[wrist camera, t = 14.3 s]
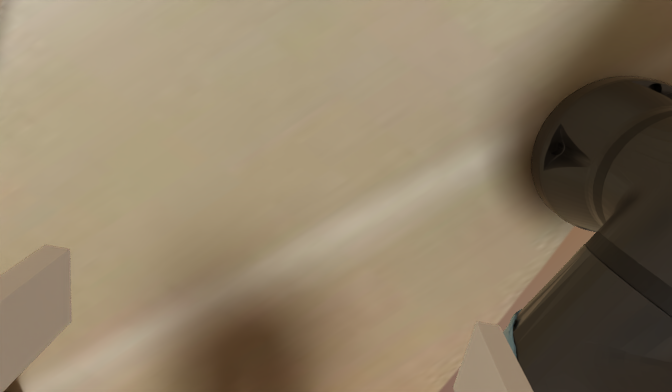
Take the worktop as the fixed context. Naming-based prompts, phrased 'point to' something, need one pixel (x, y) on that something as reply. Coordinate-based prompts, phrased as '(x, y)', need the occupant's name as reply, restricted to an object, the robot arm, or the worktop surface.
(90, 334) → the worktop surface
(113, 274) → the worktop surface
